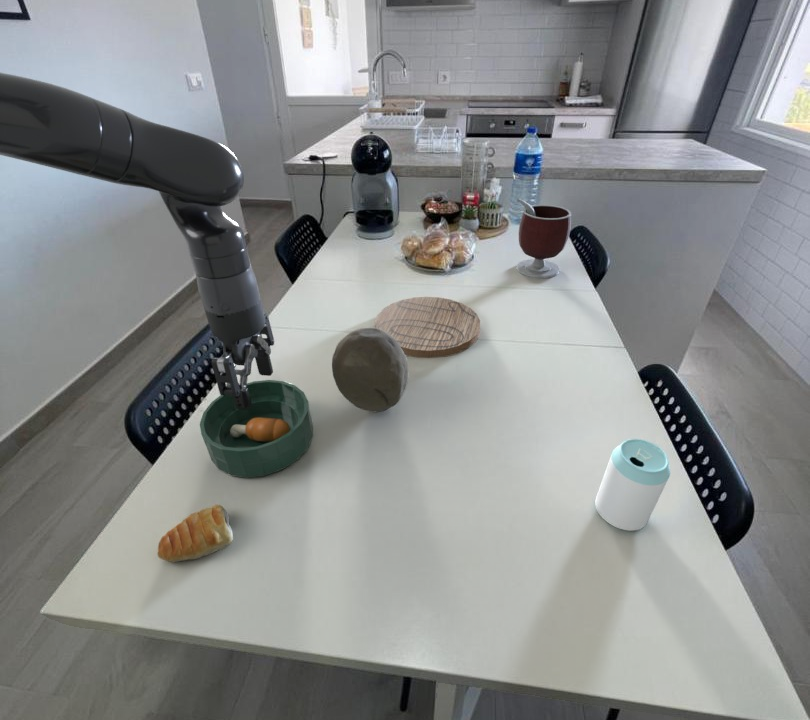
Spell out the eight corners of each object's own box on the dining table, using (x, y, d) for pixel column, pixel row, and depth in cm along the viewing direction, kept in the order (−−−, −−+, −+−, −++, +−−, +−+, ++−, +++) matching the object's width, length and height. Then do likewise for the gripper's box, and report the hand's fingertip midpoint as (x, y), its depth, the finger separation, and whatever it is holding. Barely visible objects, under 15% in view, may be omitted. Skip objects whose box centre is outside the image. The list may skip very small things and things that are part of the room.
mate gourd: (563, 263, 136) (577, 196, 125) (559, 282, 126) (573, 210, 114) (512, 257, 141) (521, 191, 130) (504, 274, 131) (512, 205, 119)
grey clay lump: (418, 386, 89) (418, 320, 80) (395, 434, 78) (392, 365, 69) (353, 374, 93) (346, 310, 84) (322, 419, 82) (311, 351, 73)
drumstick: (226, 443, 76) (221, 425, 74) (237, 427, 80) (232, 410, 77) (286, 448, 75) (283, 431, 73) (294, 432, 78) (291, 415, 76)
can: (650, 538, 61) (680, 480, 54) (595, 527, 62) (617, 469, 56) (642, 497, 66) (669, 440, 59) (592, 487, 68) (612, 430, 61)
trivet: (392, 298, 120) (392, 292, 119) (486, 309, 114) (487, 302, 113) (360, 349, 100) (359, 341, 99) (471, 365, 94) (471, 357, 93)
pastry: (164, 579, 57) (154, 562, 55) (158, 539, 62) (148, 522, 60) (238, 543, 61) (231, 526, 59) (226, 508, 66) (219, 492, 64)
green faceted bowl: (241, 498, 68) (231, 469, 64) (194, 440, 78) (182, 412, 74) (332, 439, 77) (328, 411, 74) (279, 395, 87) (273, 368, 84)
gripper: (229, 276, 68) (252, 363, 77) (178, 323, 56) (212, 419, 65) (276, 278, 67) (293, 366, 76) (234, 326, 55) (261, 423, 65)
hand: (256, 390), depth 71 cm, fingers open, 8 cm apart
